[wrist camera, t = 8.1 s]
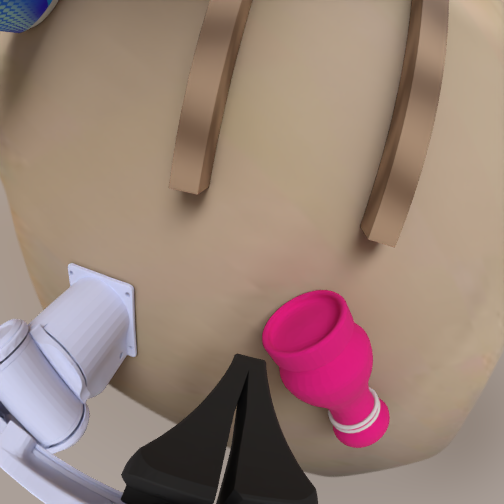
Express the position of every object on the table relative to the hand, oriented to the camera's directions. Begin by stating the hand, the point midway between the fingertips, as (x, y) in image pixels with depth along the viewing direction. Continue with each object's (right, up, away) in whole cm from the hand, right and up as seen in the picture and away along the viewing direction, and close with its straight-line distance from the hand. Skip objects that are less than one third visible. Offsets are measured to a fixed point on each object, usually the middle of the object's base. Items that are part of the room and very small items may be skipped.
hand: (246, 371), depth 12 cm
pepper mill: (+3, +1, +6) cm, 7 cm away
